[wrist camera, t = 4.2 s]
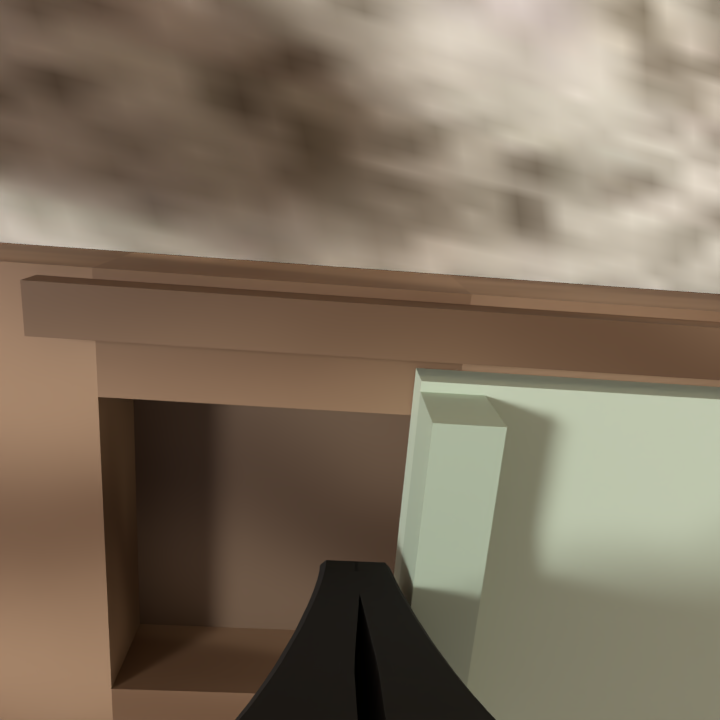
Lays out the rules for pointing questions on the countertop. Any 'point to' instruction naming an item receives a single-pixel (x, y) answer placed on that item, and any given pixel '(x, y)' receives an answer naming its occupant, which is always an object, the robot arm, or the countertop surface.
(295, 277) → the wooden tray
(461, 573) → the cover
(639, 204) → the countertop surface
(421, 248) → the countertop surface
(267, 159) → the countertop surface
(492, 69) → the countertop surface
